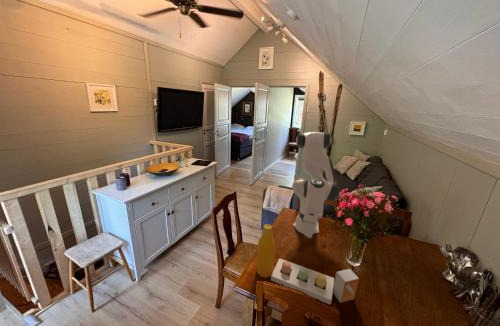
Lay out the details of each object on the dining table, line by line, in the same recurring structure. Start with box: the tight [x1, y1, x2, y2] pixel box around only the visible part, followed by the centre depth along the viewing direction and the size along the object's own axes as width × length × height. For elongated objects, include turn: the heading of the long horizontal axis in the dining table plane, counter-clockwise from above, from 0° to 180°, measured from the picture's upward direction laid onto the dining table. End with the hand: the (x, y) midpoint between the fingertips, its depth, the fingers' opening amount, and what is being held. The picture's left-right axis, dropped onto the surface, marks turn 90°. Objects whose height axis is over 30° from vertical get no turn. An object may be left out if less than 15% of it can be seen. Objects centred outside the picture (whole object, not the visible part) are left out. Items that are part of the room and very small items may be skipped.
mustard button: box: [315, 273, 326, 289], centre depth 105 cm, size 5×5×4 cm
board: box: [270, 258, 335, 306], centre depth 110 cm, size 14×30×3 cm, turn 64°
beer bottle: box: [256, 223, 276, 279], centre depth 112 cm, size 9×9×29 cm
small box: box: [332, 268, 360, 304], centre depth 101 cm, size 8×6×13 cm
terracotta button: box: [281, 260, 291, 276], centre depth 113 cm, size 5×5×4 cm
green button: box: [297, 266, 308, 282], centre depth 109 cm, size 5×5×4 cm
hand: (310, 234), depth 110 cm, fingers open, 4 cm apart
